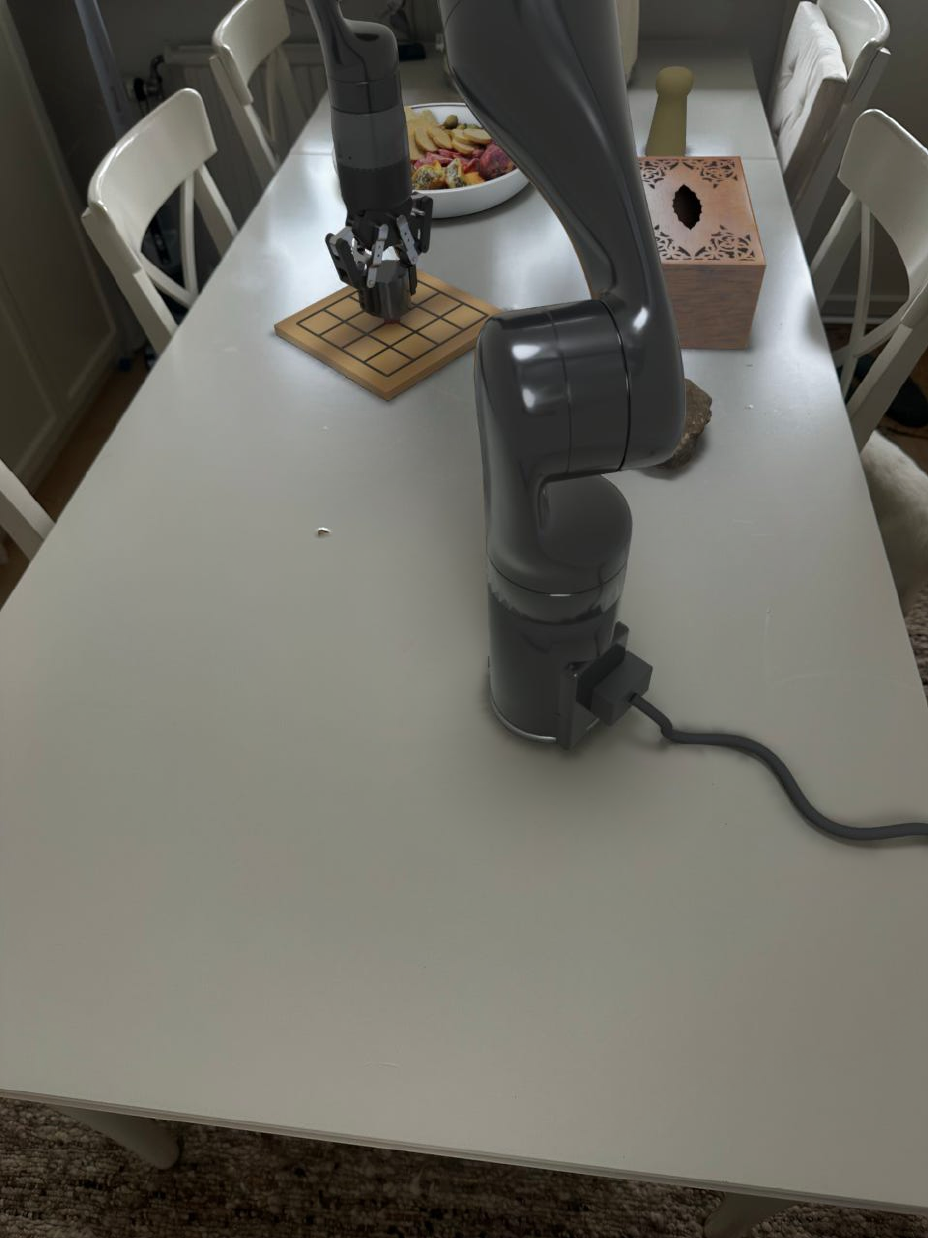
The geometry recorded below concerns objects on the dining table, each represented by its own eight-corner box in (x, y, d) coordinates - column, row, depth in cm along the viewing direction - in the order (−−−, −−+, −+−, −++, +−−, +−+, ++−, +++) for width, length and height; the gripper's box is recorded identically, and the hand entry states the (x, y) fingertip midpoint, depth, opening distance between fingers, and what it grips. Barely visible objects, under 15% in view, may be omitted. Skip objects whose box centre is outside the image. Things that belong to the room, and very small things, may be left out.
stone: (675, 488, 84) (692, 440, 79) (546, 436, 87) (555, 387, 83) (710, 434, 90) (727, 387, 85) (588, 387, 93) (598, 339, 89)
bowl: (312, 223, 120) (301, 165, 114) (365, 133, 139) (358, 78, 133) (525, 234, 116) (526, 173, 110) (551, 139, 134) (553, 83, 128)
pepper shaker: (637, 148, 131) (645, 66, 122) (671, 139, 132) (682, 57, 124) (659, 163, 127) (669, 80, 119) (693, 154, 129) (706, 71, 120)
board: (511, 323, 102) (511, 313, 101) (387, 401, 94) (385, 390, 93) (398, 267, 112) (397, 257, 111) (275, 333, 103) (273, 323, 102)
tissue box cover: (613, 235, 115) (620, 156, 107) (724, 235, 113) (740, 155, 106) (616, 346, 98) (625, 263, 91) (746, 349, 97) (766, 264, 89)
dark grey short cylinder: (420, 305, 101) (417, 269, 97) (388, 323, 98) (384, 287, 95) (391, 290, 103) (387, 254, 99) (360, 308, 101) (354, 272, 97)
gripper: (341, 184, 82) (365, 341, 95) (448, 135, 88) (456, 289, 102) (293, 162, 86) (322, 317, 99) (398, 116, 92) (413, 267, 105)
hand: (390, 302), depth 100 cm, fingers closed on dark grey short cylinder, 5 cm apart
